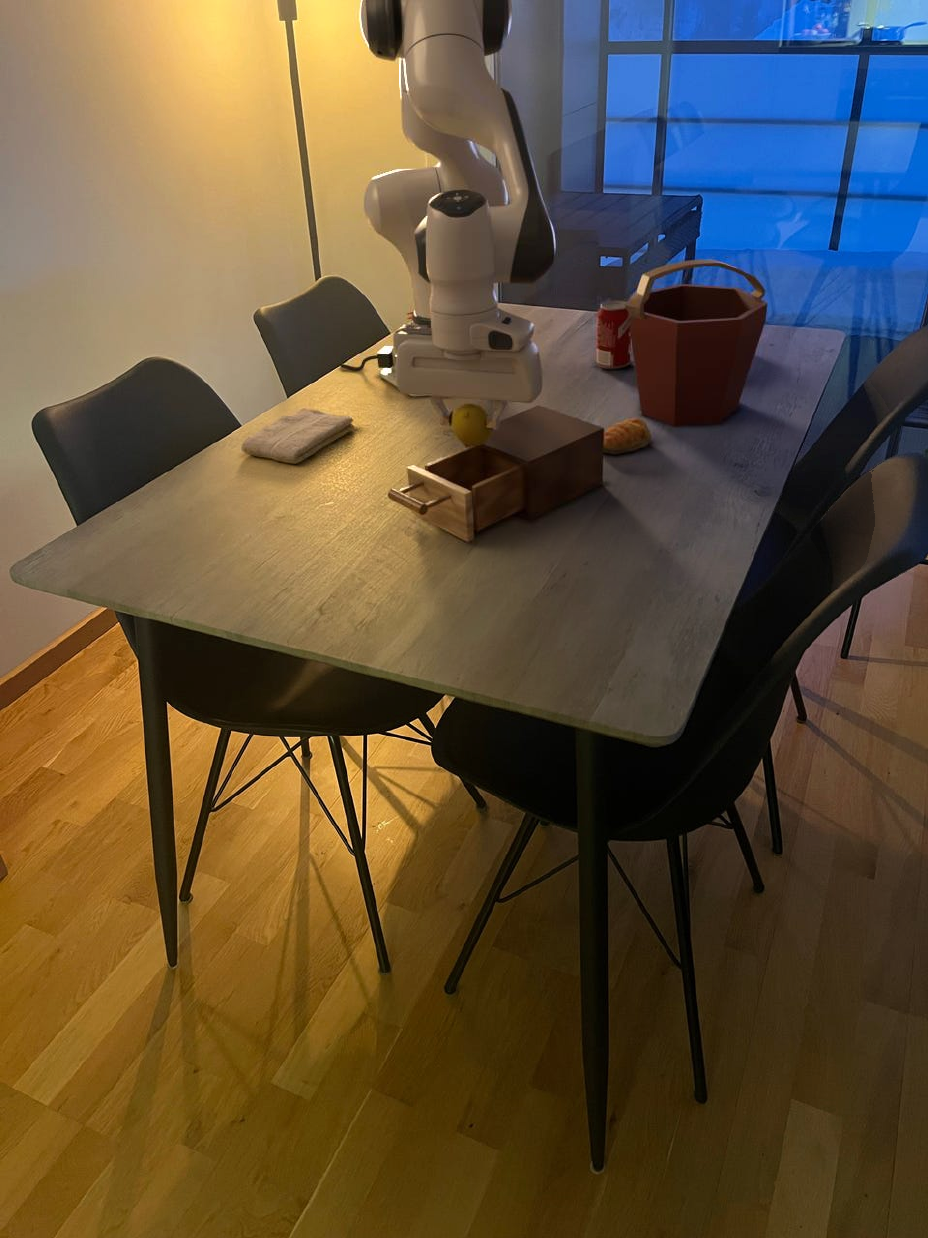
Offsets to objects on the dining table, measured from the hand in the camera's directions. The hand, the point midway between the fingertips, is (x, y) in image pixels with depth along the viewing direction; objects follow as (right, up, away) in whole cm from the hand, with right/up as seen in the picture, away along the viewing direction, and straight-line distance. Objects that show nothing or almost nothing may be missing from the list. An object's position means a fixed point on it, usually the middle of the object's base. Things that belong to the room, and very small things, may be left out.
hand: (470, 426), depth 131 cm
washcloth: (-30, +4, +34) cm, 45 cm away
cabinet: (+10, -7, +14) cm, 19 cm away
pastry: (+26, +2, +25) cm, 36 cm away
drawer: (-1, -12, +6) cm, 13 cm away
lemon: (+1, 0, +5) cm, 5 cm away
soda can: (+29, +24, +57) cm, 69 cm away
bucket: (+39, +11, +38) cm, 55 cm away
